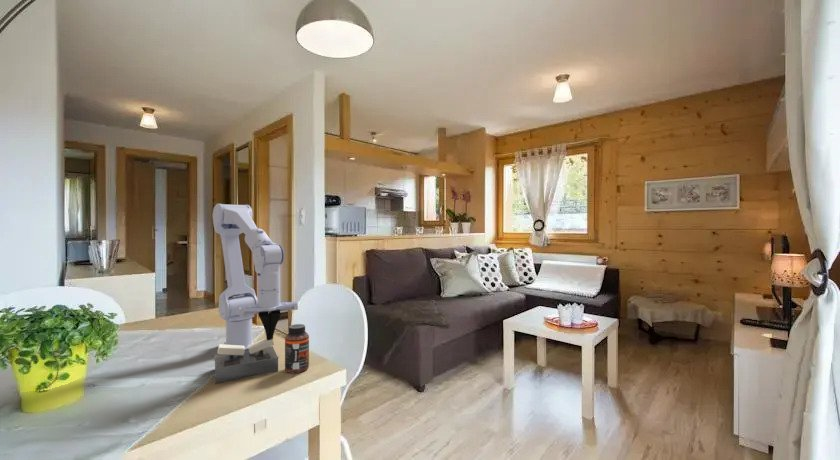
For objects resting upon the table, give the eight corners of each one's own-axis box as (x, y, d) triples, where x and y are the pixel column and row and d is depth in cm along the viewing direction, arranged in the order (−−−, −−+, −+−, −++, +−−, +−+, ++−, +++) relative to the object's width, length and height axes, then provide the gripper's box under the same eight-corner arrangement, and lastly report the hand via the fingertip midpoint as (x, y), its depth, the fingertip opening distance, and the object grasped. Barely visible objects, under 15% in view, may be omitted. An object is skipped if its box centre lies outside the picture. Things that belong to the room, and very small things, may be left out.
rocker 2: (249, 350, 95) (247, 345, 95) (272, 341, 98) (270, 336, 98) (250, 354, 93) (248, 348, 92) (274, 344, 95) (272, 339, 95)
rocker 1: (217, 350, 91) (219, 344, 92) (242, 351, 94) (244, 345, 95) (217, 354, 89) (219, 347, 89) (243, 355, 92) (245, 349, 92)
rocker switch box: (215, 368, 93) (214, 352, 92) (272, 358, 100) (272, 343, 99) (215, 384, 84) (214, 366, 84) (278, 371, 91) (278, 354, 91)
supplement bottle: (301, 374, 89) (301, 330, 89) (280, 372, 90) (279, 328, 90) (313, 365, 95) (313, 323, 94) (293, 363, 96) (292, 322, 96)
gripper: (240, 294, 89) (240, 348, 89) (299, 288, 96) (300, 338, 96) (238, 289, 95) (239, 340, 95) (294, 284, 102) (295, 331, 103)
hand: (269, 338), depth 96 cm, fingers closed, pressing on rocker 2
